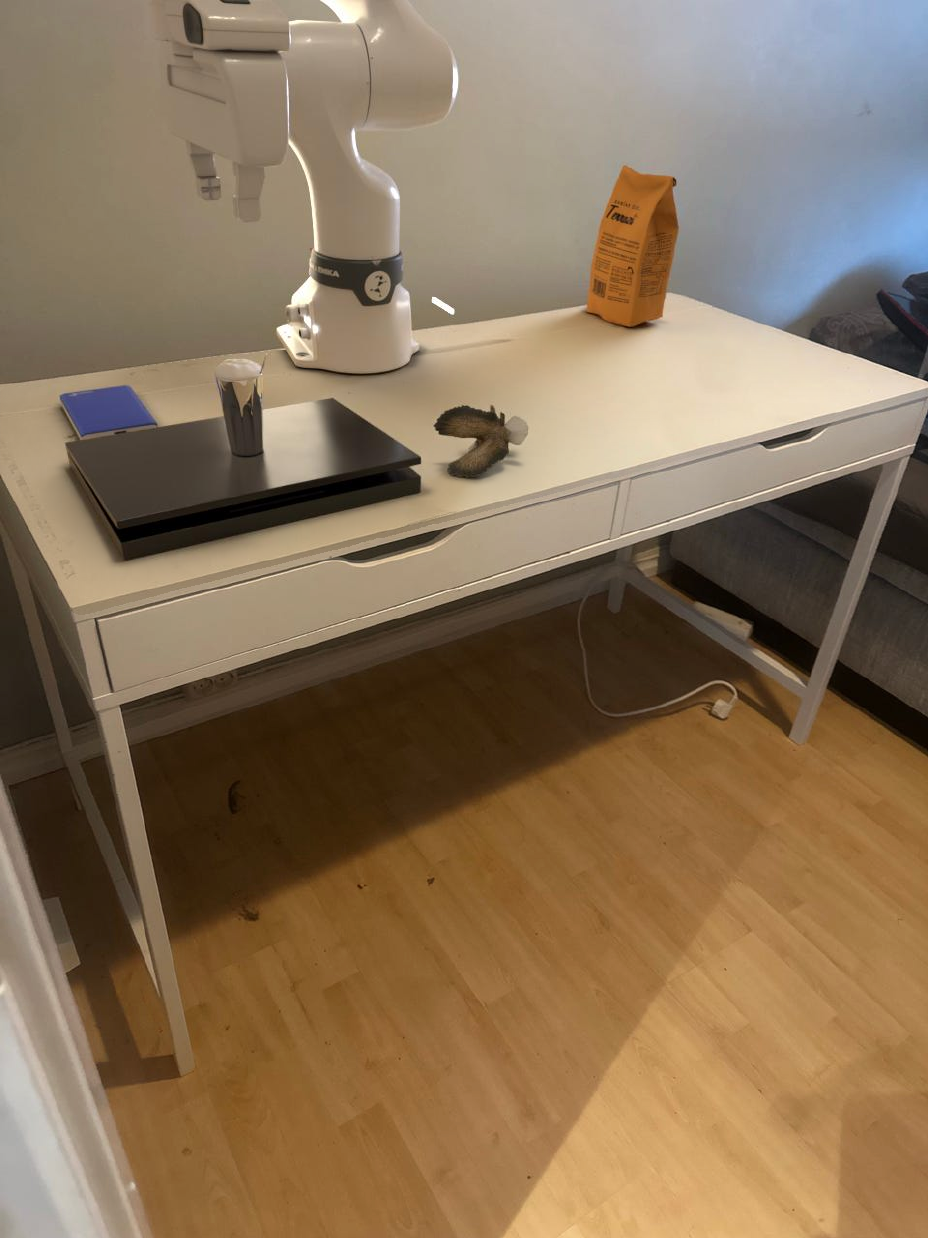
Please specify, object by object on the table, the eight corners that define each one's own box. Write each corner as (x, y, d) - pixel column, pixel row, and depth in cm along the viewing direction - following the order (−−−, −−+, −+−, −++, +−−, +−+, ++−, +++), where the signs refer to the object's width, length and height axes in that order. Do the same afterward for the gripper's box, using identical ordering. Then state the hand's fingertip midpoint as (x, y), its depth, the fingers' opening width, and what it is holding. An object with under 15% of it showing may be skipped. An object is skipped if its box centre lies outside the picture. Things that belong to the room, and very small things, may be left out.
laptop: (420, 492, 92) (421, 475, 91) (124, 561, 78) (120, 542, 77) (333, 419, 106) (333, 404, 105) (70, 466, 93) (66, 450, 91)
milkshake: (268, 461, 88) (257, 360, 83) (217, 456, 89) (203, 355, 83) (284, 445, 92) (275, 347, 86) (235, 440, 92) (223, 343, 87)
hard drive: (58, 393, 104) (80, 433, 96) (129, 383, 108) (157, 421, 99) (61, 406, 105) (83, 447, 97) (132, 396, 109) (159, 434, 100)
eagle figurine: (472, 428, 103) (419, 435, 97) (508, 386, 99) (455, 390, 92) (507, 480, 102) (456, 491, 95) (545, 440, 97) (494, 448, 91)
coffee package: (620, 303, 154) (641, 161, 142) (670, 323, 146) (697, 175, 133) (575, 309, 150) (593, 164, 137) (624, 330, 141) (648, 178, 129)
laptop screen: (421, 465, 90) (421, 456, 90) (118, 530, 77) (116, 521, 76) (333, 405, 105) (333, 397, 105) (66, 450, 92) (64, 442, 91)
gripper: (131, 8, 75) (156, 188, 82) (213, 20, 61) (233, 236, 69) (205, 11, 77) (222, 185, 85) (300, 24, 64) (309, 231, 71)
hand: (227, 208), depth 77 cm, fingers open, 8 cm apart
